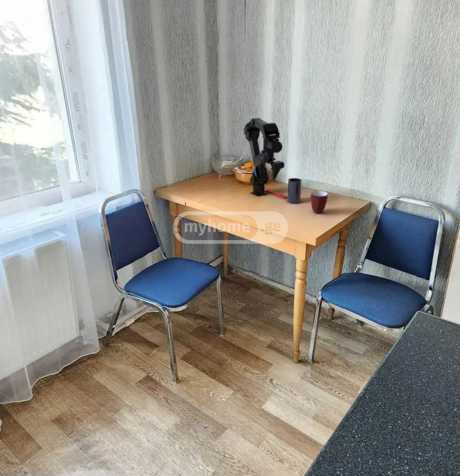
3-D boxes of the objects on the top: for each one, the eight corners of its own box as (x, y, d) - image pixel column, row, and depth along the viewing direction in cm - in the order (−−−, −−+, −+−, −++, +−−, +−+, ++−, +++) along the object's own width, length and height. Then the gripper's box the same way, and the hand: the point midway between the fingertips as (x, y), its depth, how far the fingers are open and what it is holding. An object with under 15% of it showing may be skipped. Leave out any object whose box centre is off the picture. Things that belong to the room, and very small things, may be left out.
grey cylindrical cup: (285, 202, 211) (286, 180, 206) (289, 198, 216) (291, 177, 211) (297, 204, 208) (298, 182, 203) (301, 200, 213) (303, 179, 208)
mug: (326, 217, 191) (328, 198, 187) (309, 216, 193) (311, 197, 188) (325, 209, 201) (327, 191, 197) (309, 208, 202) (310, 190, 198)
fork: (264, 191, 227) (264, 190, 227) (268, 190, 229) (268, 188, 228) (283, 198, 215) (284, 197, 215) (287, 197, 217) (288, 196, 217)
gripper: (244, 147, 203) (244, 176, 210) (268, 154, 189) (267, 185, 196) (261, 144, 209) (260, 172, 216) (285, 151, 195) (284, 181, 202)
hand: (267, 178), depth 207 cm, fingers open, 9 cm apart
